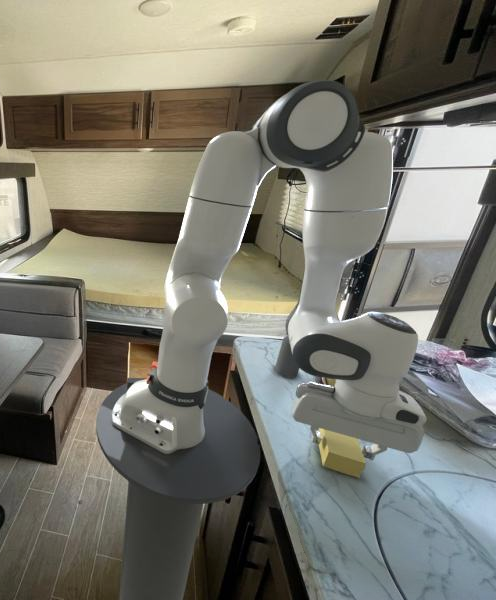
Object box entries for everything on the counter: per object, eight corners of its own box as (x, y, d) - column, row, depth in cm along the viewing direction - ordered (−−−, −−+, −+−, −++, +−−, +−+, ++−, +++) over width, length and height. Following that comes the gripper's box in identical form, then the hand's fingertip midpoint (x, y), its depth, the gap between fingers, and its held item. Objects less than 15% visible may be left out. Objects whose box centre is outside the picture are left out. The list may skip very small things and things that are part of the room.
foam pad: (322, 466, 65) (328, 451, 63) (316, 435, 72) (321, 421, 71) (359, 478, 62) (366, 463, 61) (349, 445, 70) (355, 431, 68)
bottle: (292, 367, 97) (306, 323, 91) (300, 379, 92) (315, 333, 86) (271, 365, 98) (283, 321, 92) (278, 376, 92) (291, 330, 87)
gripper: (301, 388, 63) (284, 441, 68) (439, 422, 55) (408, 479, 60) (298, 371, 68) (283, 422, 73) (424, 400, 60) (396, 454, 65)
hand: (340, 448), depth 67 cm, fingers open, 8 cm apart
